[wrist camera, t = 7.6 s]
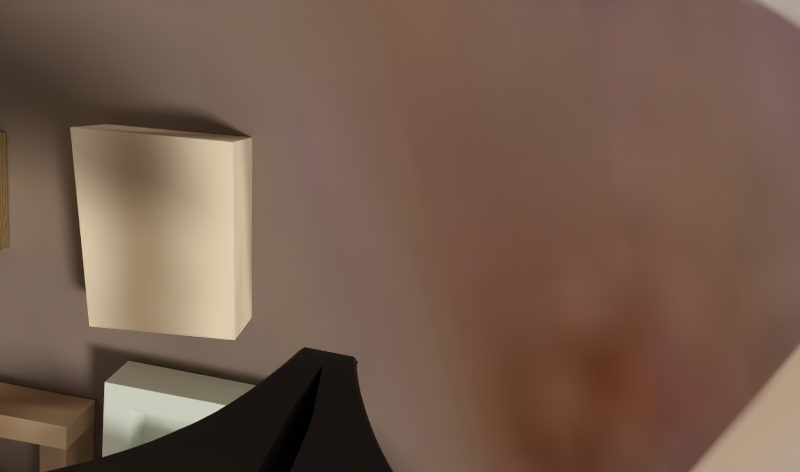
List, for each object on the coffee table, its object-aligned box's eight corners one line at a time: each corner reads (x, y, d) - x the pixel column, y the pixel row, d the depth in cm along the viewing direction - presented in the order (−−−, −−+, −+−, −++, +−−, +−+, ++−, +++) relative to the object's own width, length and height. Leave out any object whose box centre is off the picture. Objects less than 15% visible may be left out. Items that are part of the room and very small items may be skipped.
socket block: (95, 400, 24) (66, 427, 22) (92, 515, 25) (65, 550, 24) (-51, 372, 23) (-93, 396, 22) (-43, 490, 25) (-81, 522, 23)
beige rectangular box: (255, 136, 20) (233, 142, 18) (254, 314, 23) (234, 340, 20) (111, 123, 20) (70, 127, 18) (124, 301, 23) (89, 326, 20)
